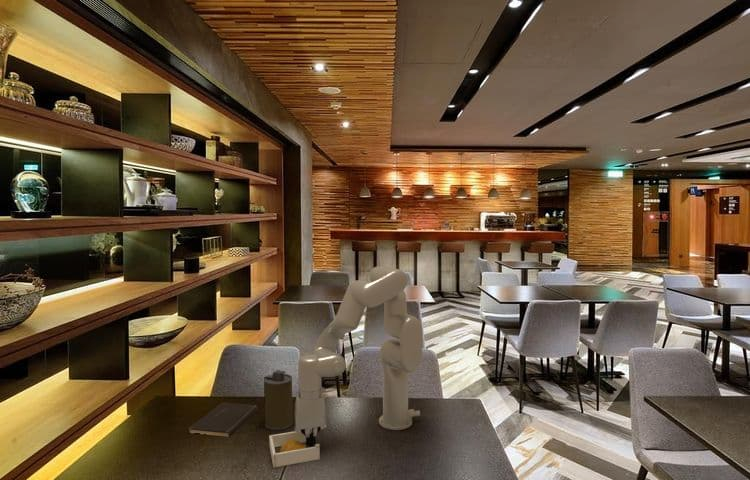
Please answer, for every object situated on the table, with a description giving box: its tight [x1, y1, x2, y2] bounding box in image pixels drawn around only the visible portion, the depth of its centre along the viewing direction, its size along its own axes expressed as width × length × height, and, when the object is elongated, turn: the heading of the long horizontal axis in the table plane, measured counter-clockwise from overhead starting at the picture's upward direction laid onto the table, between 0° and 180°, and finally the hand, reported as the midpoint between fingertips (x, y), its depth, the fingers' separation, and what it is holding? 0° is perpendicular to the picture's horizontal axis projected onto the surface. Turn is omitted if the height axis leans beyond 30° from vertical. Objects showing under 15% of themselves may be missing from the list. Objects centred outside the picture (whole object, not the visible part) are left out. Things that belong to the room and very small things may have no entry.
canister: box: [263, 369, 294, 431], centre depth 165 cm, size 11×10×20 cm
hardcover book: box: [188, 402, 259, 438], centre depth 168 cm, size 16×23×2 cm
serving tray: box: [268, 428, 321, 468], centre depth 145 cm, size 15×14×5 cm
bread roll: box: [279, 439, 308, 453], centre depth 145 cm, size 8×9×4 cm
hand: (310, 446), depth 147 cm, fingers closed
